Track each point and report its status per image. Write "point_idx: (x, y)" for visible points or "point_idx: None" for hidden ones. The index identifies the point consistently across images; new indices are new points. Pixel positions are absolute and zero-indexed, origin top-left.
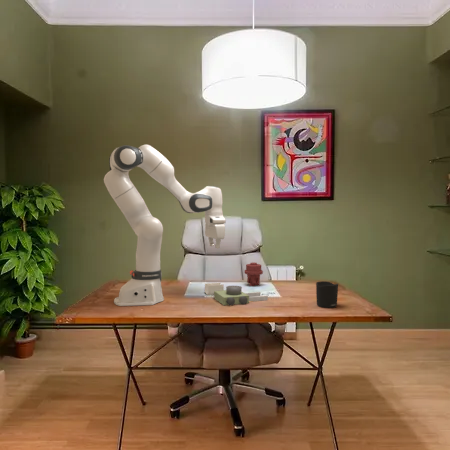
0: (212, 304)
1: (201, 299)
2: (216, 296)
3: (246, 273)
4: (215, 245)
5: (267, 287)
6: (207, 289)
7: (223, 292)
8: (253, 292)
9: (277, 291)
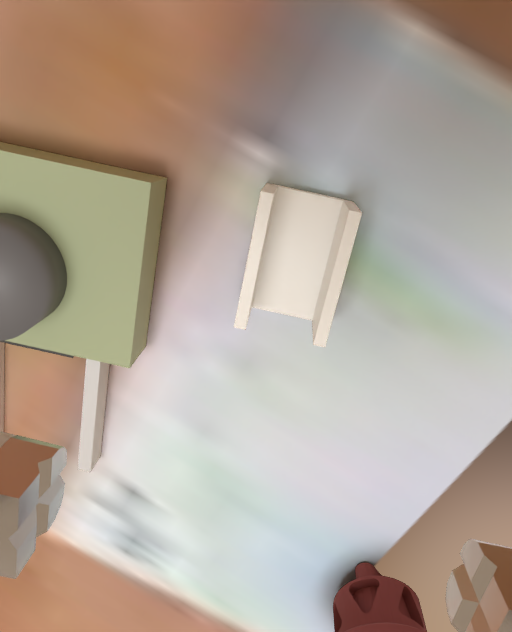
0: (6, 70)
1: (180, 70)
2: (100, 167)
3: (388, 626)
4: (27, 477)
5: (273, 608)
6: (340, 222)
7: (72, 222)
8: (90, 436)
9: (158, 587)
